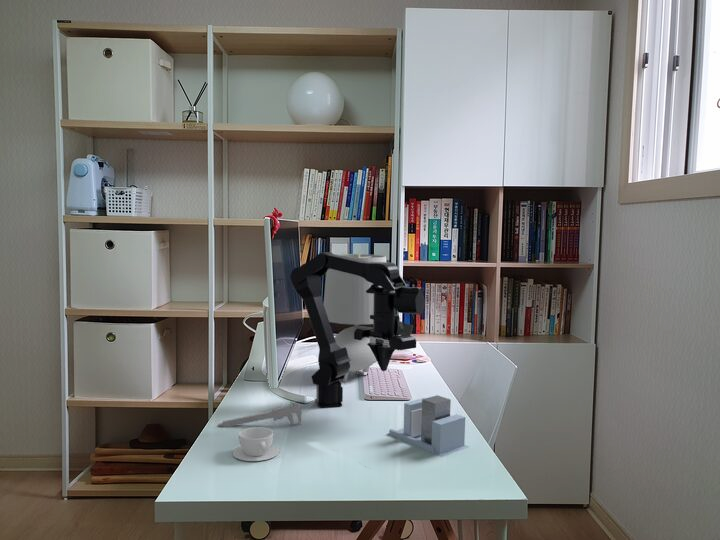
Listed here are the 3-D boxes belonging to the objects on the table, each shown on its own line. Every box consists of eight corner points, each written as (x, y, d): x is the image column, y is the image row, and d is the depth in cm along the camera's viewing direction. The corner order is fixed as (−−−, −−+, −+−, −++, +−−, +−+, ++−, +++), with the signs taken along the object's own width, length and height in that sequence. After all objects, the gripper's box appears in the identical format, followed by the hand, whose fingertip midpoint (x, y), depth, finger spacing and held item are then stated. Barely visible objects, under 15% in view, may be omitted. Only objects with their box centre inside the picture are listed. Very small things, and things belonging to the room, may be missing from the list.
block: (420, 442, 132) (422, 399, 131) (436, 437, 135) (437, 395, 134) (434, 448, 129) (435, 403, 128) (449, 443, 132) (450, 399, 131)
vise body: (387, 438, 138) (388, 406, 137) (414, 430, 143) (415, 399, 143) (441, 461, 125) (442, 426, 124) (469, 451, 130) (470, 417, 130)
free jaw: (403, 436, 135) (404, 402, 135) (422, 430, 139) (423, 397, 139) (410, 439, 134) (411, 405, 133) (429, 433, 138) (430, 400, 137)
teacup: (227, 450, 130) (226, 429, 129) (269, 442, 134) (269, 422, 134) (240, 466, 121) (240, 444, 121) (286, 458, 126) (286, 436, 125)
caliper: (301, 424, 147) (301, 399, 146) (301, 426, 146) (301, 401, 145) (217, 426, 144) (217, 401, 144) (217, 428, 143) (216, 402, 143)
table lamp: (364, 390, 176) (366, 257, 173) (306, 379, 187) (307, 254, 184) (400, 374, 195) (402, 254, 192) (345, 365, 207) (347, 251, 203)
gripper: (432, 313, 150) (431, 373, 151) (384, 304, 164) (383, 359, 165) (399, 317, 143) (399, 380, 144) (352, 308, 157) (352, 365, 158)
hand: (383, 370), depth 153 cm, fingers closed
